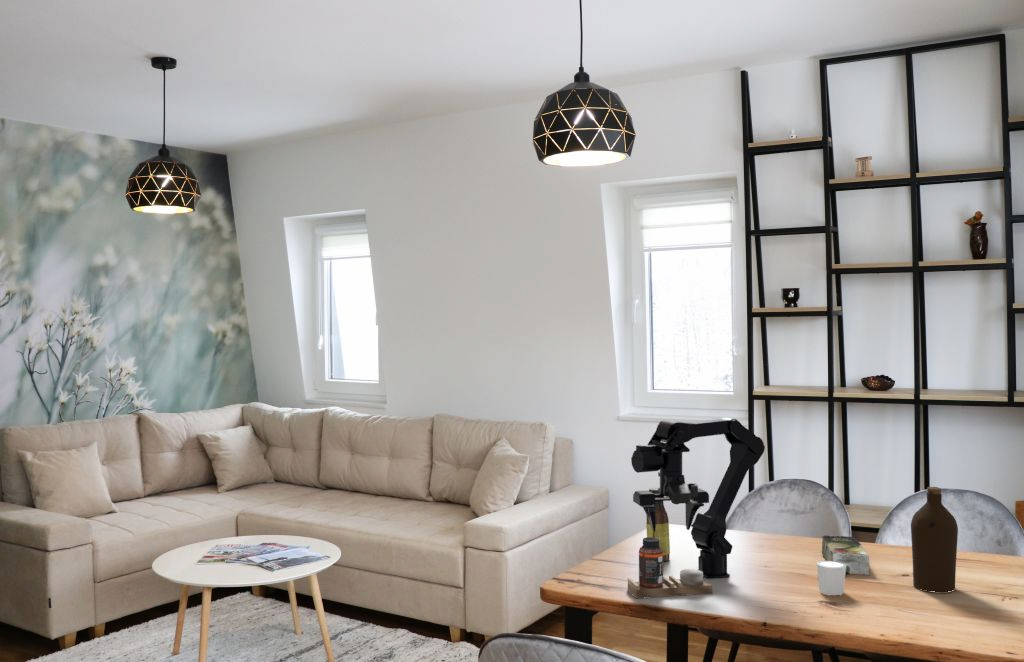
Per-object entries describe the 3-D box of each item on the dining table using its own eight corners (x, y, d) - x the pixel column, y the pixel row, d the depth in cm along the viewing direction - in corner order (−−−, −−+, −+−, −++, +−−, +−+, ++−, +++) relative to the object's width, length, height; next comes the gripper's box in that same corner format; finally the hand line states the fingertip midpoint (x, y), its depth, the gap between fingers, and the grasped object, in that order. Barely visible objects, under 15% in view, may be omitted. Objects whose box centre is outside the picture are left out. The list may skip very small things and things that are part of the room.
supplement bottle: (667, 587, 214) (667, 541, 214) (645, 589, 213) (645, 542, 212) (656, 580, 220) (656, 535, 220) (634, 582, 218) (634, 537, 218)
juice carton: (872, 576, 230) (872, 553, 230) (832, 575, 232) (832, 552, 232) (856, 557, 250) (856, 535, 250) (820, 556, 251) (820, 534, 251)
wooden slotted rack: (701, 585, 222) (701, 567, 222) (712, 593, 216) (712, 575, 216) (627, 590, 218) (627, 572, 218) (636, 598, 212) (636, 579, 212)
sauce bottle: (673, 558, 247) (673, 488, 247) (664, 563, 242) (664, 491, 242) (651, 555, 251) (651, 485, 251) (642, 560, 246) (642, 489, 245)
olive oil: (966, 594, 214) (966, 492, 214) (922, 594, 214) (922, 492, 214) (945, 581, 225) (945, 483, 225) (903, 581, 225) (903, 484, 225)
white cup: (832, 598, 212) (832, 569, 212) (810, 590, 218) (810, 562, 218) (852, 594, 215) (852, 565, 215) (830, 586, 221) (830, 558, 221)
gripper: (647, 476, 216) (647, 539, 216) (718, 473, 220) (718, 536, 220) (632, 469, 227) (632, 529, 227) (700, 466, 231) (700, 526, 231)
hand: (671, 530), depth 226 cm, fingers open, 9 cm apart
